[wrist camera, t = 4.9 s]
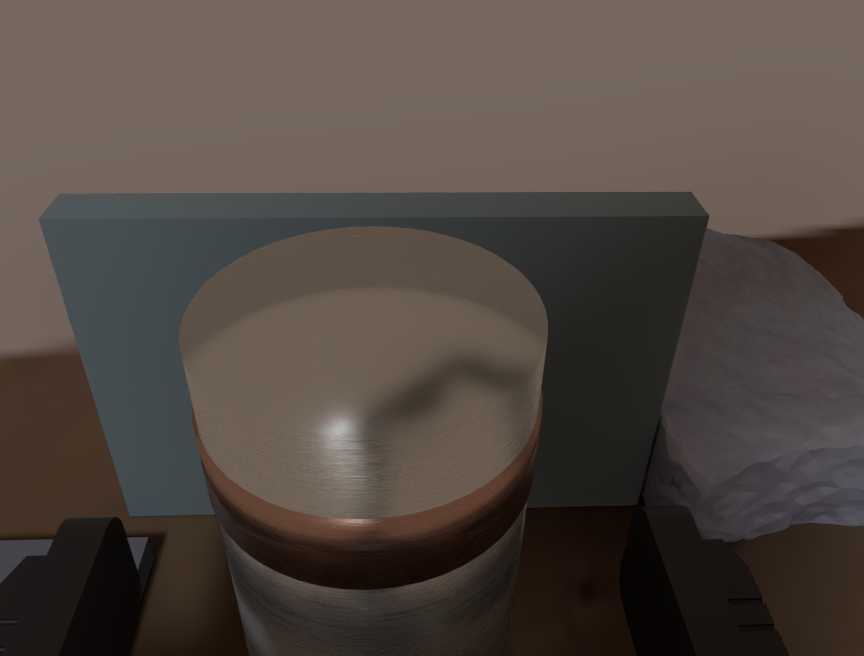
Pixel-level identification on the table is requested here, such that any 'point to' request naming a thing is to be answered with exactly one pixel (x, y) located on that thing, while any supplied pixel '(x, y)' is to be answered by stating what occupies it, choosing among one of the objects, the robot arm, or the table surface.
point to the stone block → (761, 397)
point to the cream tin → (369, 439)
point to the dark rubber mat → (9, 553)
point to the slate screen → (436, 212)
